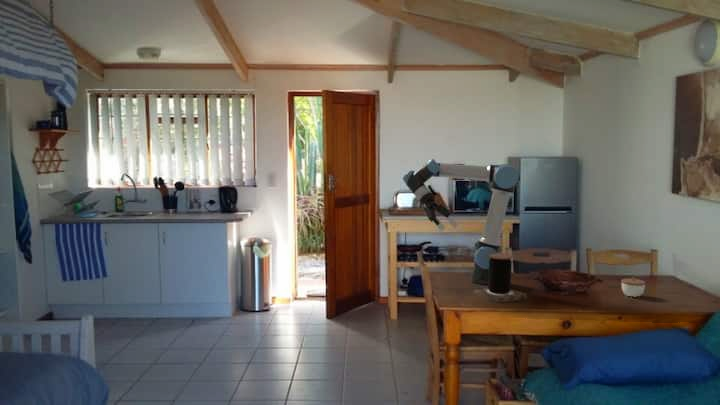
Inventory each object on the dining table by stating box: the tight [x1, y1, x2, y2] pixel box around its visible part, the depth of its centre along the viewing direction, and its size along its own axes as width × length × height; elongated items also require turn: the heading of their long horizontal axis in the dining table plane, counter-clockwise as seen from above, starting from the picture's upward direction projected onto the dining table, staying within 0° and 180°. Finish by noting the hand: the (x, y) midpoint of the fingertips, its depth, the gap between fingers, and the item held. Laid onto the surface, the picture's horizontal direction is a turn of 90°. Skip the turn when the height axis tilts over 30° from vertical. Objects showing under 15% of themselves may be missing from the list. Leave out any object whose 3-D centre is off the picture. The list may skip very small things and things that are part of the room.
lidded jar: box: [621, 277, 646, 297], centre depth 292 cm, size 11×11×9 cm
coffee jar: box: [487, 253, 513, 294], centre depth 288 cm, size 11×11×18 cm
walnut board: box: [473, 287, 528, 304], centre depth 288 cm, size 18×18×2 cm
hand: (449, 228), depth 298 cm, fingers open, 13 cm apart
